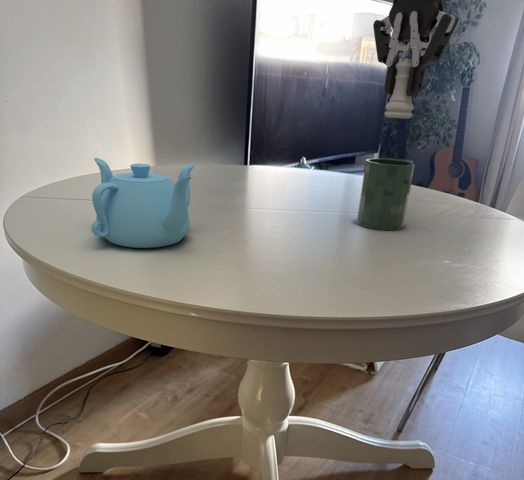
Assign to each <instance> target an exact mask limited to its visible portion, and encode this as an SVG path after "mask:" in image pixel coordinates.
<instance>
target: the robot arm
mask: <svg viewBox="0 0 524 480" xmlns="http://www.w3.org/2000/svg"><path fill="white" fill-rule="evenodd" d="M392 1H393V2H392V5H391V7H390V10H389V11H388V12H389V13H388V15H387V16H386V17H385V18H383V19H380V20H379V19H376V20H374V22H373V25H372V27H373V35H374V43H375V49H376V50H375V51H376V56H377V57H376V58H377V62H378V63H380V64H381V63H382V64H384V65H385V66H386V67H387V68H386V77H385V83H384V91H385V94H386V96H392V95H393V91H394V88H395V84H396V78H395V77H396V76H397V73H398V71H397V68H396V65H397V63H398V62H399V58H403V59H405V55H406V52H408V51H409V49H410V50H411V58H412V66H413V68H410V74H409V80H408V86H407V92H406V95H407V96H411V97H418V96H419V94H420V93H421V91H422V90H423V85H424V79H425V73H426V69H427V67H428V66H431V65H432V64H437V63H439V62H440V59H441V57H442V56H443V54H444V51H445V49H446V48H447V45H448V43H449V41H450V40H451V38H452V35H453V33H454V31H455V30H456V27H457V25H458V23H459V17H458V16H457V15H452V14H449V13H447V12H446V11H445V12H444V5H443V0H392ZM434 28H435V31H434V33H433V35H432V32H433V30H434Z"/></svg>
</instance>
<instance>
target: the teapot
mask: <svg viewBox="0 0 524 480" xmlns="http://www.w3.org/2000/svg"><path fill="white" fill-rule="evenodd" d="M93 159H94V162H95V163H96V164H97V167H98V169H99V172H100V181H101V182H100V184H98V185H97V186H96V187H95V188H93V191H92V195H91V201H92V206H93V209H94V211H95V214H96V217H95V221H93V223H91V232H92V234H93V235H94V236H95V237H98V238H105V239H106V240H107V241H108V242H110V243H111V244H113V245H117V246H121V247H125V248H136V249H137V248H138V249H151V248H152V249H153V248H160V247H168V246H171V245H175V244H177V243H179V242H180V241H181V240H182V239H183V238H184V237H185V236H186V234H187V233H188V231H189V229H190V227H191V221H190V217H189V210H188V208H189V206H190V203H191V202H190V201H191V190H190V180H191V179H192V177H193V176H191V173H192V170H193V169H194V167H195V166H196V163H195V162H193V163H192V162H191V163H187V164H186V165H184V166H183V167H182V168H181V170H180V172H179V174H178V179H177V180H176V182H175V183H174V182H173V180H171V178H170V177H169V176H167V175H165V174H161V173H153V172H150V170H151V165H150V164H147V163H132V164H130V165H129V167H130V169H131V171H132V172H124V173H117V174H114V175H113V172H112V170H111V168H110V166H109V164H108V163H107V162H106V161H105V160H103V159H101V158H99V157H94V158H93Z"/></svg>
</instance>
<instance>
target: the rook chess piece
mask: <svg viewBox="0 0 524 480" xmlns="http://www.w3.org/2000/svg"><path fill="white" fill-rule="evenodd" d="M396 68H397V71H398V73H397V76H396V77H395V78H396V84H395V88H394V91H393V95H391V98H389V102H387V103H386V105H385V109H386V111H385V112H384V113H383V114H384V117H385V118H391V119H393V118H396V119H411V118H412V117H413V115H414V114H413V113H412V111H413V110H414V108H415V107H414V105H413V103H412V102H413V100H412V96H407V95H406V92H407V86H408V80H409V74H410V68H413V66H412V57H411V58H408V57H404V59H403V58H399V62H398V63H397V65H396Z"/></svg>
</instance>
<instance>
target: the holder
mask: <svg viewBox="0 0 524 480" xmlns="http://www.w3.org/2000/svg"><path fill="white" fill-rule="evenodd" d="M415 166H416V165H415V163H414V162H412V161H407V160H401V159H391V158H367V159H365V160H364V167H363V175H362V183H361V188H360V196H359V202H358V211H357V217H356V219H357V220H356V223H357V225H359V226H360V227H363V228H367V229H371V230H377V231H397V230H401V229H402V228H403V226H404V224H405V218H406V213H407V208H408V202H409V196H410V192H411V187H412V181H413V177H414V170H415Z"/></svg>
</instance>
